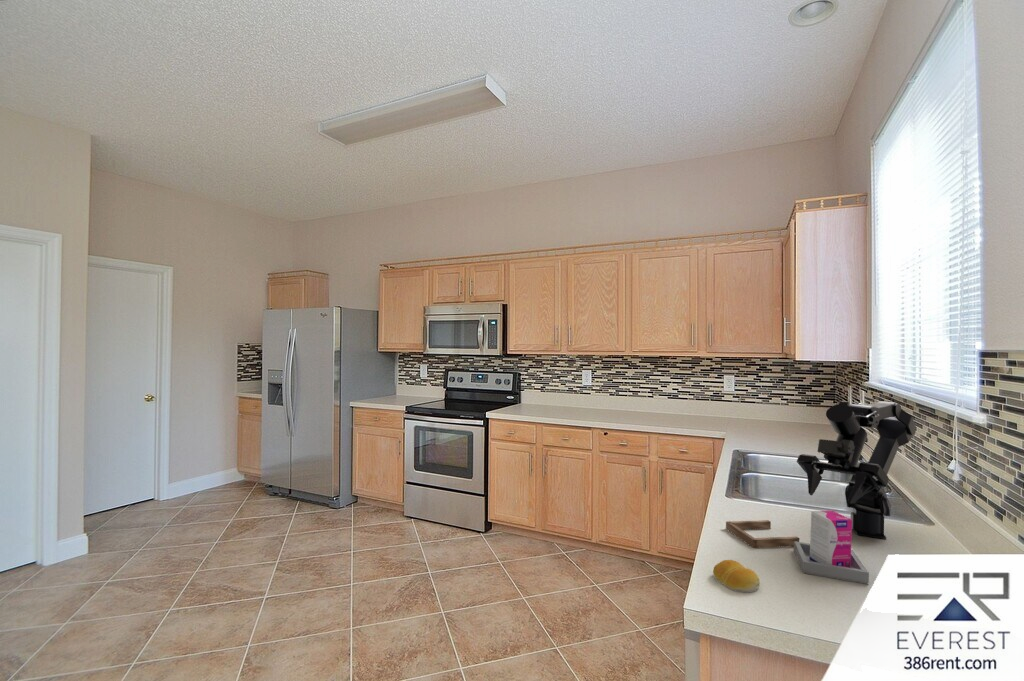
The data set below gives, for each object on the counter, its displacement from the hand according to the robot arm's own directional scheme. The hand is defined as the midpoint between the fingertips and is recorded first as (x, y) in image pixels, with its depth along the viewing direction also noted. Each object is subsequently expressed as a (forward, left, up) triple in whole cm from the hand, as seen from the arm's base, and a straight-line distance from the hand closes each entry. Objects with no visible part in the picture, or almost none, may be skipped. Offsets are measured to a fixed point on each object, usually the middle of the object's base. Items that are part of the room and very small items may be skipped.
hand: (829, 498), depth 116 cm
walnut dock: (+14, -4, -13) cm, 20 cm away
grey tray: (+2, +8, -13) cm, 16 cm away
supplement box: (+1, +8, -13) cm, 16 cm away
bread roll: (+22, +25, -14) cm, 36 cm away
